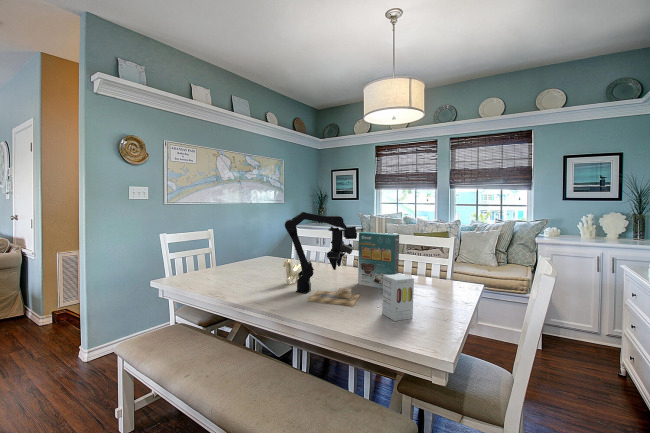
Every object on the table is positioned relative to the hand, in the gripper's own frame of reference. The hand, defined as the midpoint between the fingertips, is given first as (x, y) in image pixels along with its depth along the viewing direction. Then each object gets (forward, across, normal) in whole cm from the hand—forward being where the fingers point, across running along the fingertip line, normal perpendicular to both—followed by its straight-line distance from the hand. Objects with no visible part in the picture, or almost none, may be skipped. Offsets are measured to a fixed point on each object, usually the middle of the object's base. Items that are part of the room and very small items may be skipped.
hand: (336, 268), depth 166 cm
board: (+12, -15, -3) cm, 19 cm away
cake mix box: (+12, +16, -20) cm, 28 cm away
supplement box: (+12, -28, -34) cm, 46 cm away
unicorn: (+12, +3, +27) cm, 30 cm away
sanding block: (+11, -15, -8) cm, 20 cm away
